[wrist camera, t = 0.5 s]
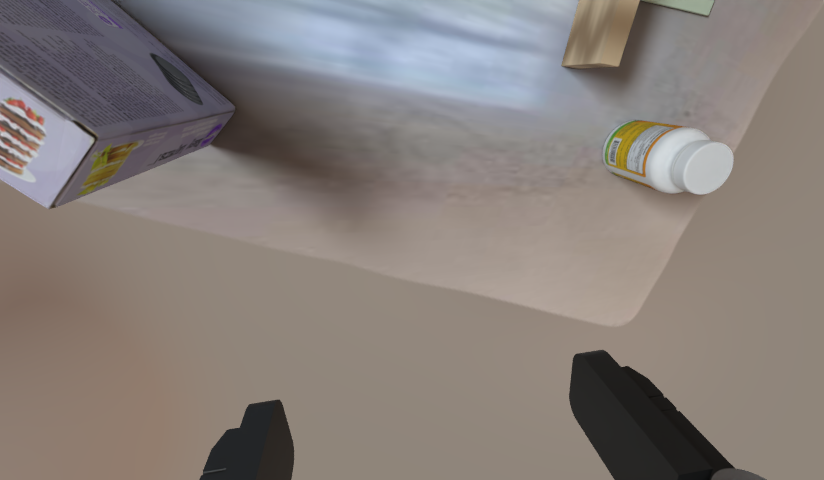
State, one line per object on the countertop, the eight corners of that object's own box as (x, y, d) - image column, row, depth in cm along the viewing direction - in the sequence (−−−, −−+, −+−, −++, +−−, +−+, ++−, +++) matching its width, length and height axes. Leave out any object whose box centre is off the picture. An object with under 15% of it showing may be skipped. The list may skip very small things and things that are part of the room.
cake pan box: (-48, -44, 26) (-703, -242, 10) (-12, -108, 25) (-675, -441, 9) (205, 151, 33) (58, 221, 17) (241, 107, 32) (121, 135, 16)
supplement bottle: (661, 151, 38) (753, 172, 29) (615, 186, 39) (691, 217, 30) (639, 107, 36) (729, 116, 27) (591, 145, 37) (664, 166, 28)
